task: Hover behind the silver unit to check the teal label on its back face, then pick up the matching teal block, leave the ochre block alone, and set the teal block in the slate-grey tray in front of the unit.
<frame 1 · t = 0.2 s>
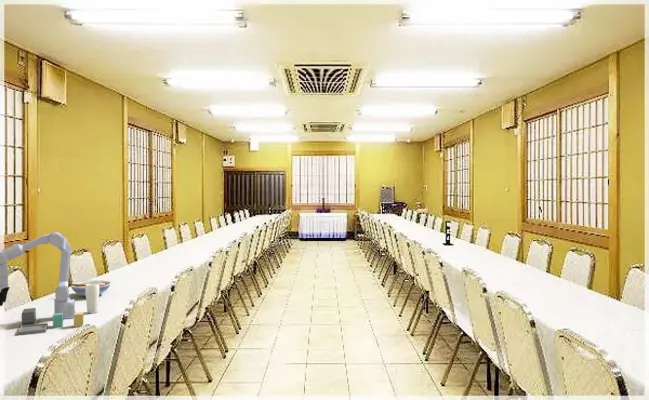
hand: (1, 304, 241), 10 cm above the table, tool pointing down, fingers open, 7 cm apart
ramen bowl: (91, 296, 304), on the table
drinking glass: (92, 312, 264), on the table
silver unit: (29, 324, 241), on the table
ochre block: (78, 325, 239), on the table
slate tray: (33, 330, 231), on the table
teal block: (58, 326, 238), on the table
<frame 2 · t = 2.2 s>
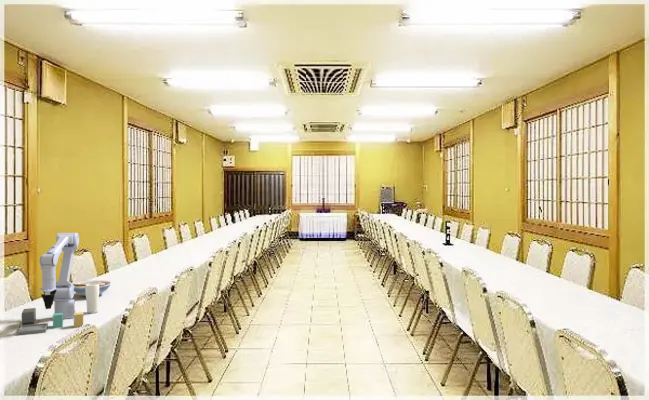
hand: (49, 306, 238), 9 cm above the table, tool pointing down, fingers open, 7 cm apart
nothing on the table moved.
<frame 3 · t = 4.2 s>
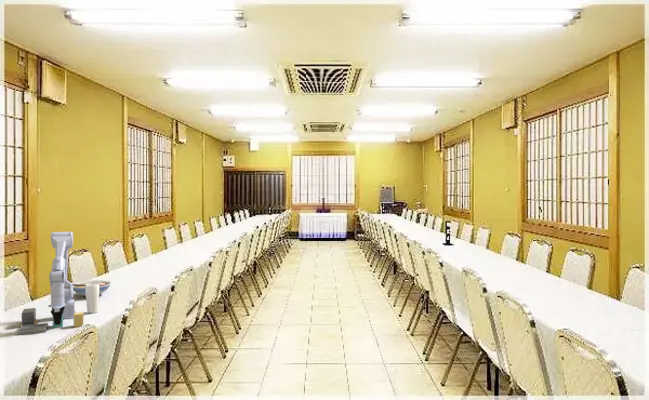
hand: (58, 323, 238), 1 cm above the table, tool pointing down, fingers closed on teal block, 4 cm apart
teal block: (58, 326, 238), on the table, touching gripper
everything else where it was.
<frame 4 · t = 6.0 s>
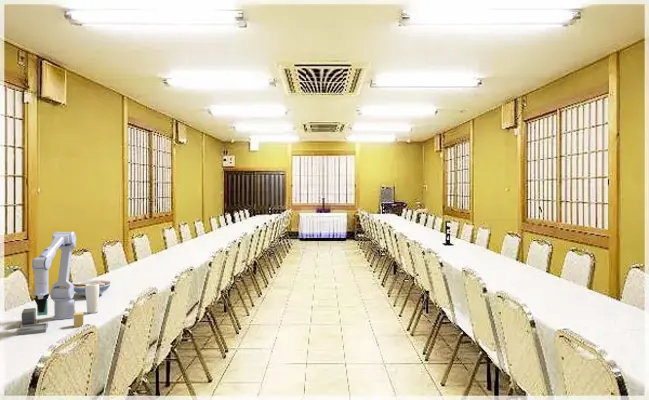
hand: (41, 311, 233), 8 cm above the table, tool pointing down, fingers closed on teal block, 4 cm apart
teal block: (42, 314, 233), point 7 cm above the table, touching gripper
everything else where it was.
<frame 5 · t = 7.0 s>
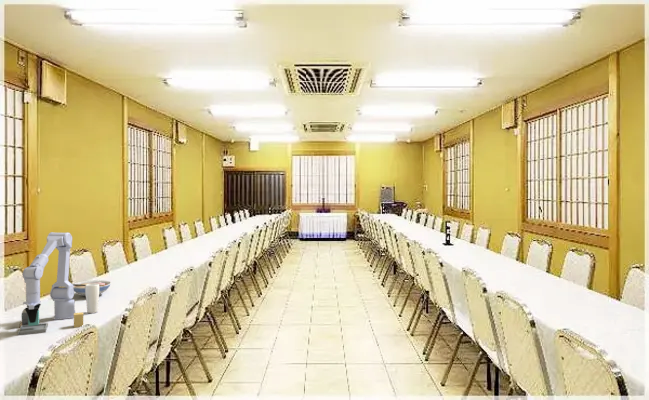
hand: (33, 321, 231), 4 cm above the table, tool pointing down, fingers closed on teal block, 4 cm apart
teal block: (33, 324, 231), point 3 cm above the table, touching gripper
everything else where it was.
when the fingers open (4 cm above the table, at t = 7.9 s): teal block drops 2 cm, resting on slate tray.
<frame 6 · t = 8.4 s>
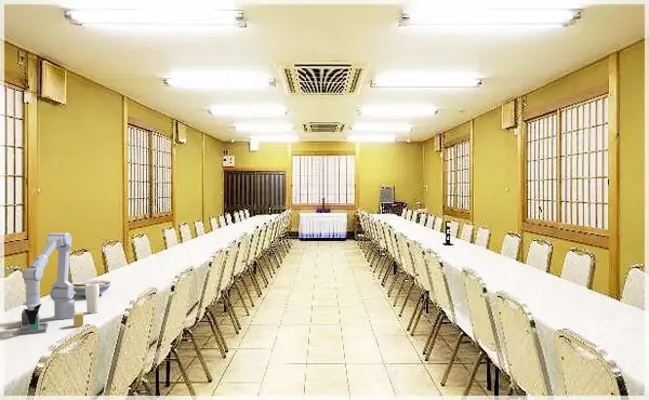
hand: (33, 322, 231), 4 cm above the table, tool pointing down, fingers open, 7 cm apart
teal block: (33, 328, 231), point 1 cm above the table, touching slate tray
everything else where it was.
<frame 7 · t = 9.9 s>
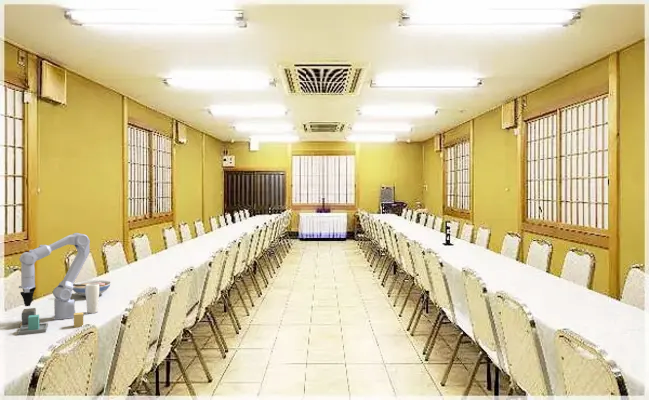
hand: (28, 304, 243), 9 cm above the table, tool pointing down, fingers open, 7 cm apart
nothing on the table moved.
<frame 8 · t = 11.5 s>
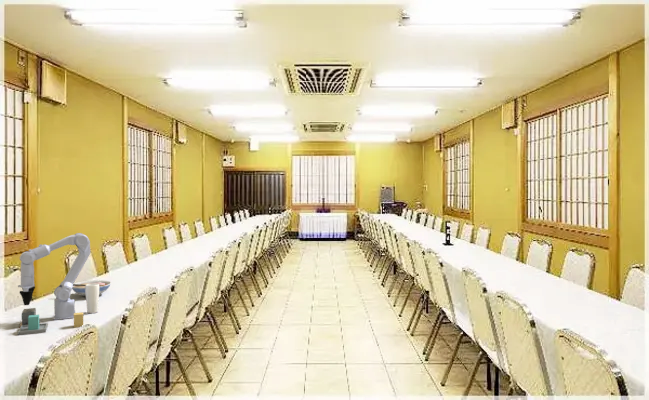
hand: (27, 303, 245), 9 cm above the table, tool pointing down, fingers open, 7 cm apart
nothing on the table moved.
at the end: teal block 0.2 cm off-centre on the slate tray, point 0.8 cm above the slate tray's base; teal block tilted 0°; ochre block moved 0.1 cm from its start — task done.
